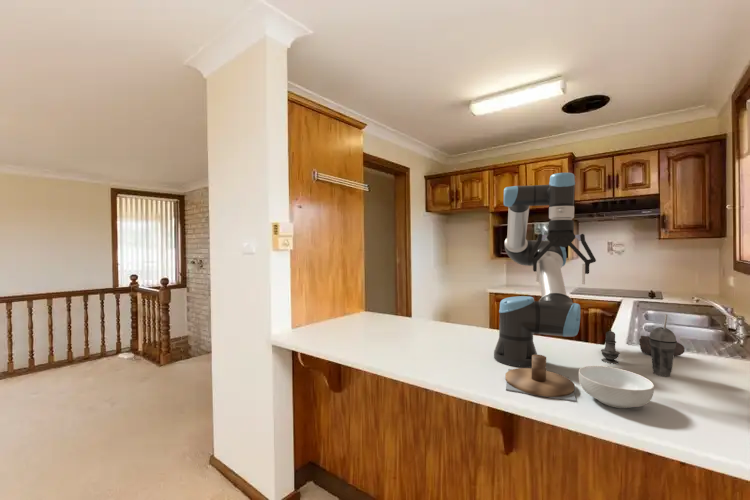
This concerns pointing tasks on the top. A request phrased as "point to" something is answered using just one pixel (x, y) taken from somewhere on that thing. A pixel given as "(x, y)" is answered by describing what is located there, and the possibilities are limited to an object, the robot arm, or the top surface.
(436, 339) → the top surface
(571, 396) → the mat
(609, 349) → the salt shaker
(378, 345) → the top surface
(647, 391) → the cereal bowl
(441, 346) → the top surface
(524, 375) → the lid
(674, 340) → the beverage cup
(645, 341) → the perforated stone tool
